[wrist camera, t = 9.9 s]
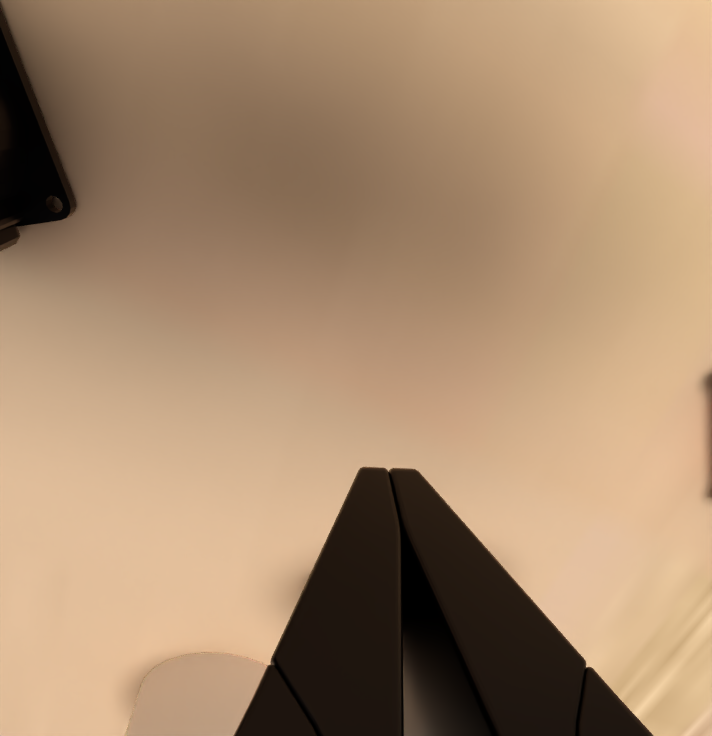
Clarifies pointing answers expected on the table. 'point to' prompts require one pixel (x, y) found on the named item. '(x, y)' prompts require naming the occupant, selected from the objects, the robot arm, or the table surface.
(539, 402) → the table surface
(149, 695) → the base with upright slab
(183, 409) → the table surface
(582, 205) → the table surface
